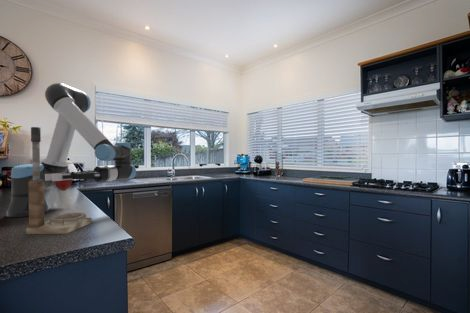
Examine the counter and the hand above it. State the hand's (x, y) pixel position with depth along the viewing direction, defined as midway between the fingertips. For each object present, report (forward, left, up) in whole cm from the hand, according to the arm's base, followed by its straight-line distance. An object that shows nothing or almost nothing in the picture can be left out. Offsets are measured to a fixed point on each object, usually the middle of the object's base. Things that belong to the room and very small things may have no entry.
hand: (48, 177), depth 97 cm
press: (+7, +11, -18) cm, 22 cm away
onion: (-5, +3, -6) cm, 8 cm away
